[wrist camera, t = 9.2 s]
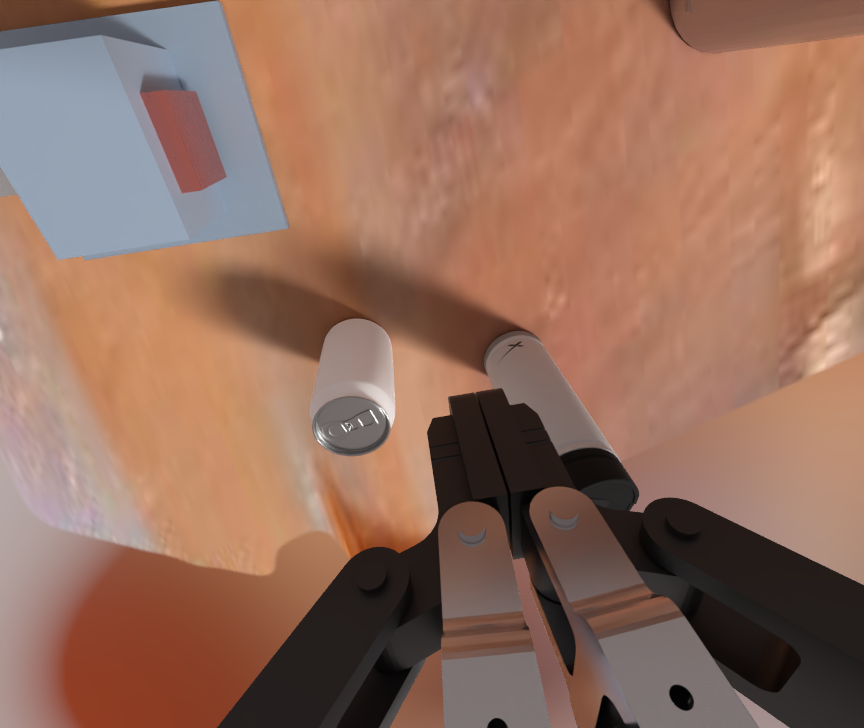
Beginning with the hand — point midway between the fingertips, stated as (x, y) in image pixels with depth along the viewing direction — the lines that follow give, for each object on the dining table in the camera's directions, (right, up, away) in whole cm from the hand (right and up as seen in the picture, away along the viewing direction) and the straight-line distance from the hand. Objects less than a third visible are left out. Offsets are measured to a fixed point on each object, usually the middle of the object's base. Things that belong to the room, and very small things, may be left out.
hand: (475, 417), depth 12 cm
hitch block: (-22, +17, +18) cm, 33 cm away
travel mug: (+7, +2, +32) cm, 33 cm away
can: (-8, +3, +29) cm, 31 cm away
